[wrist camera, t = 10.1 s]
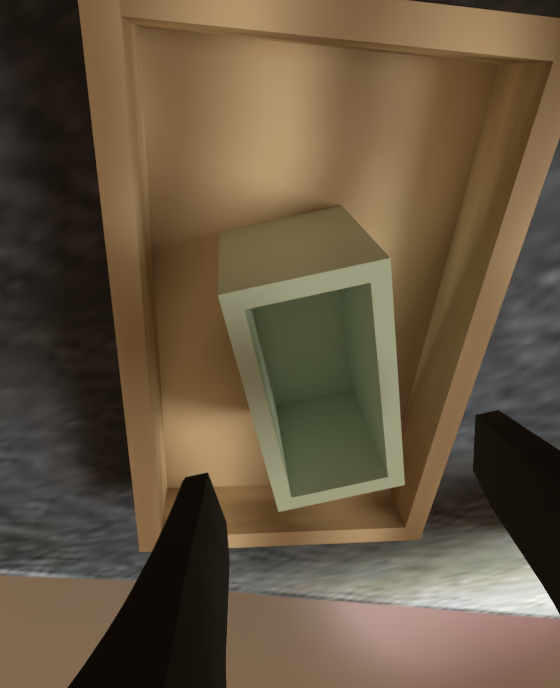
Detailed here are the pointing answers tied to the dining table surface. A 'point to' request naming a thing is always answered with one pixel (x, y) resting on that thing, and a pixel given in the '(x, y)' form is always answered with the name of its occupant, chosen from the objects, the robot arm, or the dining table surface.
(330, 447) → the small crate
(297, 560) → the dining table surface
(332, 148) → the pine crate
